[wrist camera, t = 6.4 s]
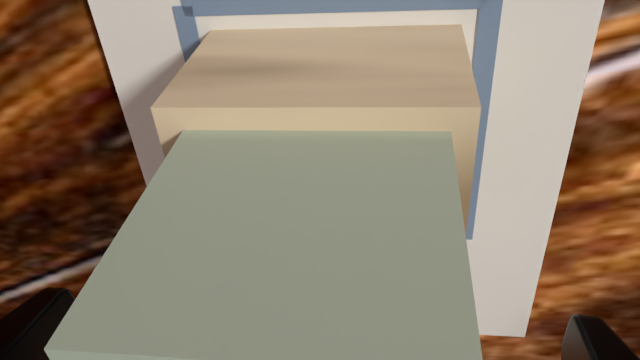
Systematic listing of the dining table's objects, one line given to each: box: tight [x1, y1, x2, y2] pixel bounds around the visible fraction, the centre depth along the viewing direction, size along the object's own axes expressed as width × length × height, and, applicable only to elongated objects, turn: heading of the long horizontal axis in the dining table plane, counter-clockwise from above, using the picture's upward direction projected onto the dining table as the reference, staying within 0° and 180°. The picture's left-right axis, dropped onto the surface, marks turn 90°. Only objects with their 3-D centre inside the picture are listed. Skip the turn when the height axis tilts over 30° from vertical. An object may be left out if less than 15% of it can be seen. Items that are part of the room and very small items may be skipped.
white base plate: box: [88, 0, 605, 337], centre depth 15 cm, size 16×12×1 cm
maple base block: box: [151, 24, 481, 235], centre depth 13 cm, size 6×6×4 cm
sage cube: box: [44, 130, 483, 360], centre depth 9 cm, size 5×5×5 cm
